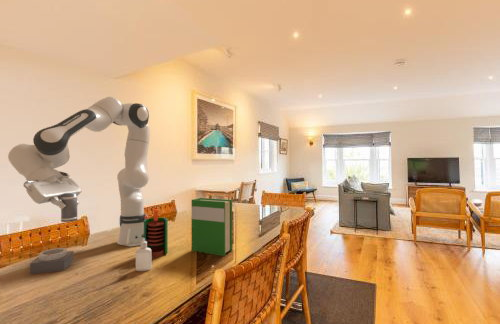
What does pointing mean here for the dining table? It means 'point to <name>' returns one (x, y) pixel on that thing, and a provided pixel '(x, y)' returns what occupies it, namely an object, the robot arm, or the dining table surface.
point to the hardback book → (212, 225)
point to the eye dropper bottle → (143, 257)
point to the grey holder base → (52, 261)
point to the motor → (156, 234)
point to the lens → (69, 207)
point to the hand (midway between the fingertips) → (70, 206)
